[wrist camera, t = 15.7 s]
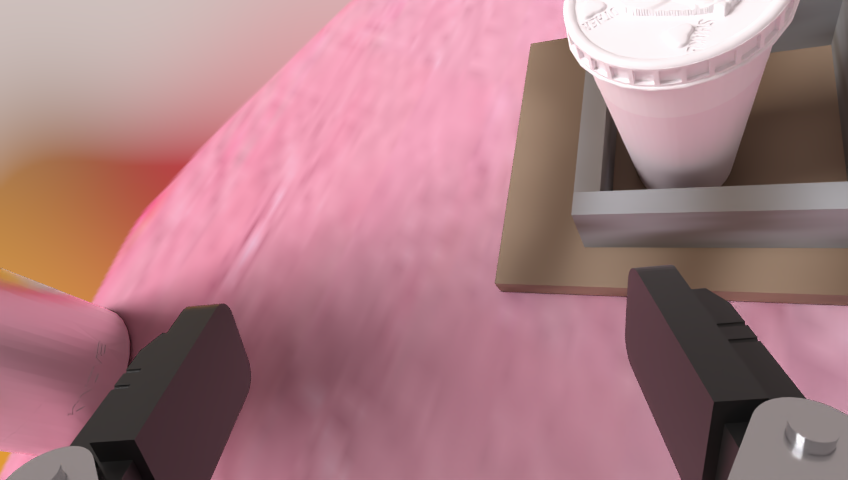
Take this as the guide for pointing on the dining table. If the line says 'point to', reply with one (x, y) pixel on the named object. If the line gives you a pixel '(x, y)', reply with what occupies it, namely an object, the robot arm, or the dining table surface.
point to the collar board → (688, 207)
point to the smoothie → (677, 77)
